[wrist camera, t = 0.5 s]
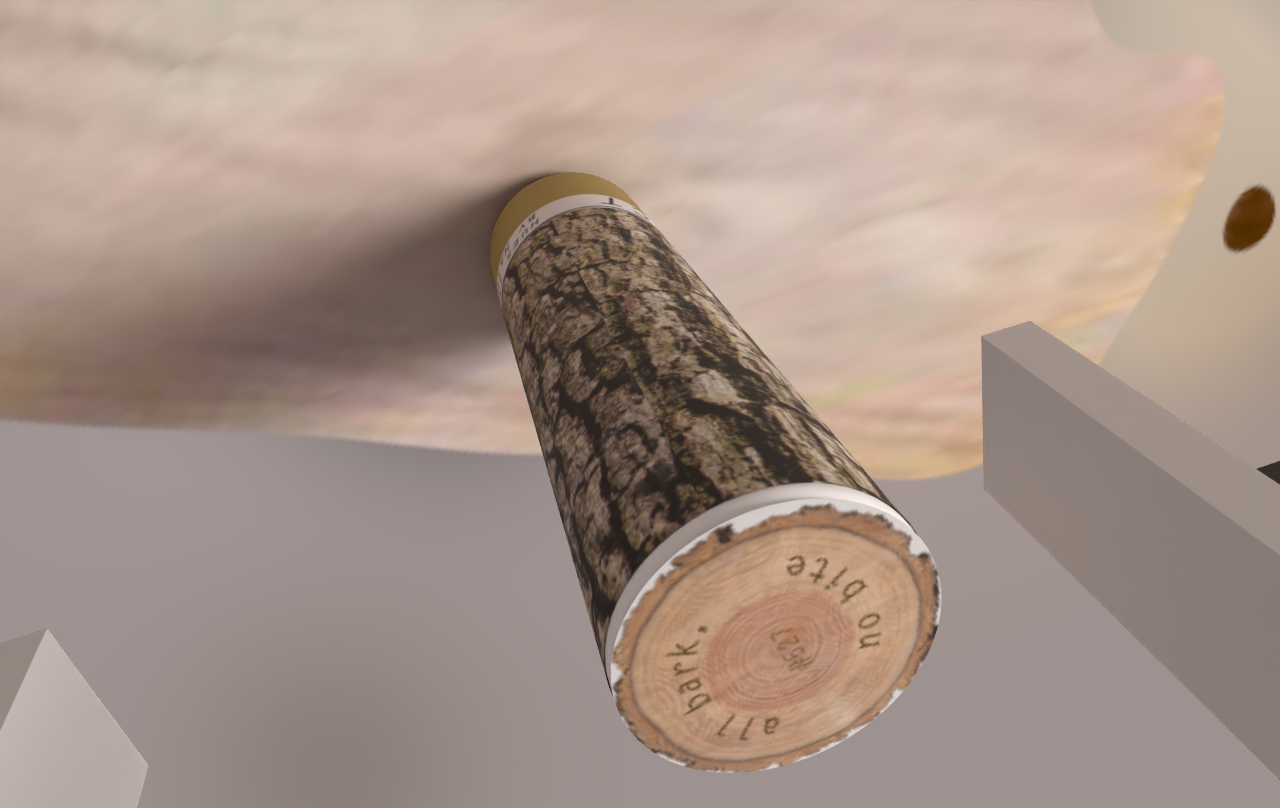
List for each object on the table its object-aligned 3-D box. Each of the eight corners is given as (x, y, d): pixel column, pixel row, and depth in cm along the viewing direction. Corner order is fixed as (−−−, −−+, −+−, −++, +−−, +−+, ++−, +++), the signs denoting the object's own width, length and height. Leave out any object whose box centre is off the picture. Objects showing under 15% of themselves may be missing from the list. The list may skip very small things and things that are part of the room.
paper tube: (536, 349, 41) (696, 821, 20) (456, 218, 38) (543, 619, 16) (670, 274, 41) (978, 668, 20) (602, 137, 38) (884, 432, 16)
